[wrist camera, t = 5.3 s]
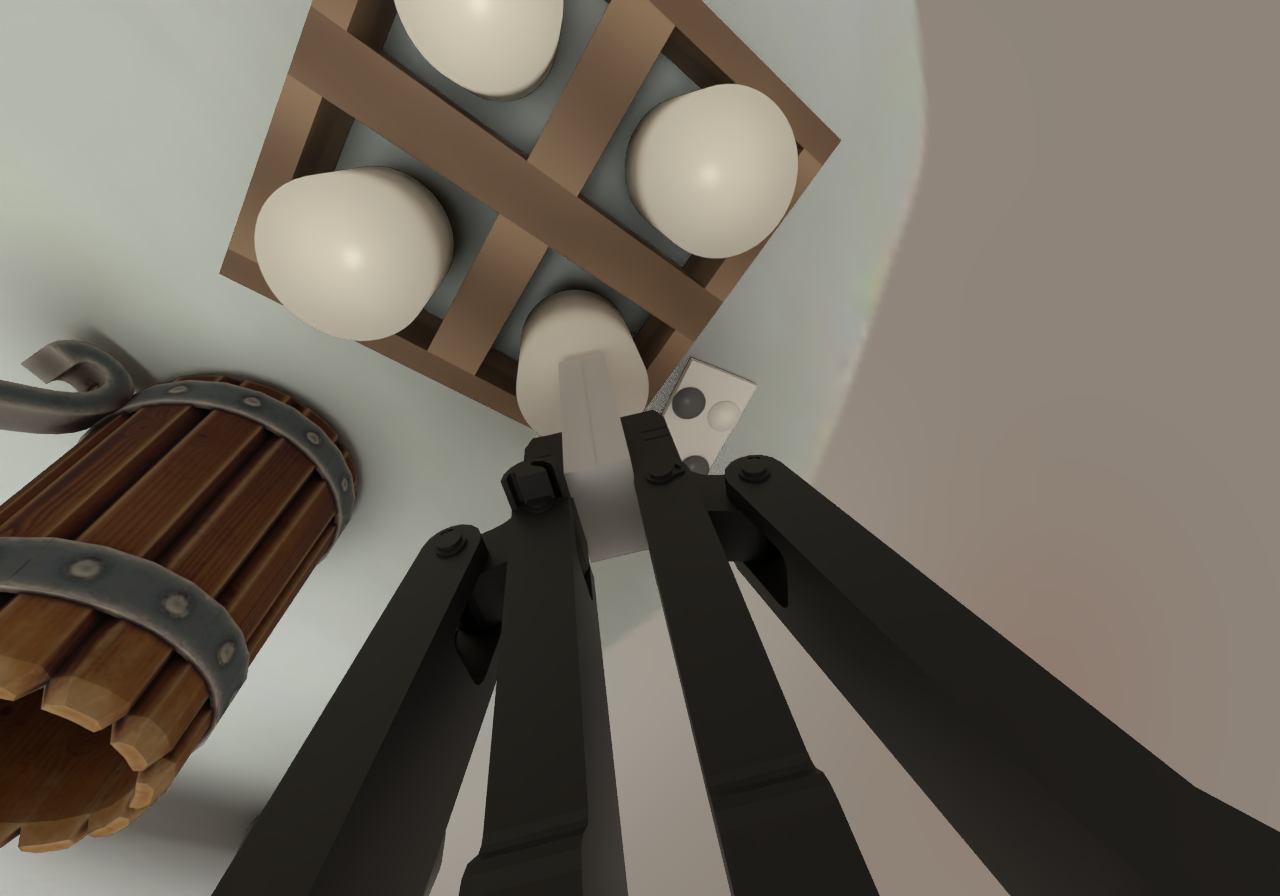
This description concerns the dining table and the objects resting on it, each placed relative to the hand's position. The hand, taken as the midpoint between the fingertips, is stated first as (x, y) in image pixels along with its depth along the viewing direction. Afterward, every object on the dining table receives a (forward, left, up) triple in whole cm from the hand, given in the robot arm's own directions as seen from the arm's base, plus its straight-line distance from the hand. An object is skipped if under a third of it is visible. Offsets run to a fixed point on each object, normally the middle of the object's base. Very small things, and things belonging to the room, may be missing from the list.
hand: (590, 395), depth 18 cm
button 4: (+8, -1, -6) cm, 10 cm away
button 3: (+9, +7, -8) cm, 14 cm away
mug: (-12, +14, -9) cm, 21 cm away
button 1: (+1, +8, -6) cm, 10 cm away
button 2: (0, 0, -6) cm, 6 cm away
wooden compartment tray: (+4, +3, -9) cm, 10 cm away
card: (-4, -8, -9) cm, 12 cm away
